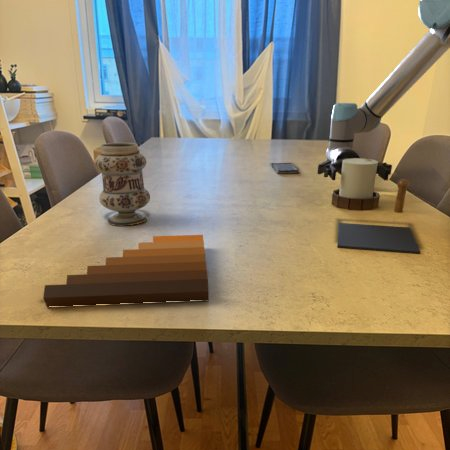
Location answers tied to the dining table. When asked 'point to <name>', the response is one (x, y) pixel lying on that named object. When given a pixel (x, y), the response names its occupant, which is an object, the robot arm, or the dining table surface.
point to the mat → (377, 238)
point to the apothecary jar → (123, 182)
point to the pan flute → (140, 276)
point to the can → (358, 178)
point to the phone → (284, 168)
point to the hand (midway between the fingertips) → (360, 175)
